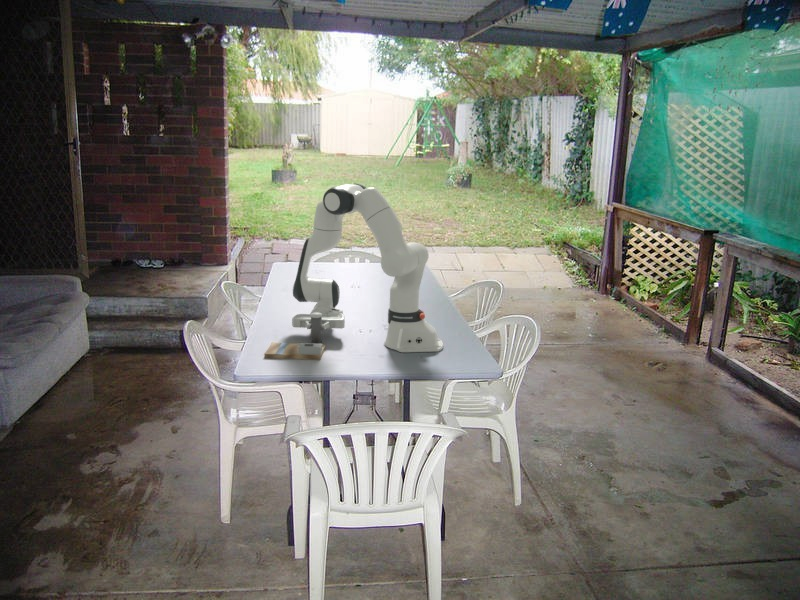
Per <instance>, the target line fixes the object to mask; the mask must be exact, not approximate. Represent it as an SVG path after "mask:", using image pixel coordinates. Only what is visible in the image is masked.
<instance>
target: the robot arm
mask: <svg viewBox="0 0 800 600" xmlns="http://www.w3.org/2000/svg"><path fill="white" fill-rule="evenodd" d="M356 212H358V213H359V214H360V216H361V217H362V219H364V222H365V223H366V225H367V226H368V228H369V231H370V232H371V233H372V235H373V237H374V239H375V241H376V243H377V245H378V249H379V253H380V256H381V259H380V266H381V269H382V271H383V273H384V274H385V275H387V276H388V277H393V278H394V279H393V281H392V284H391V286H390V289H389V308H388V312H387V323H388V326H387V333H386V337H385V341H384V346H385V347H386V348H388V349H391V350H395V351H397V352H400V353H426V352H429V353H430V352H431V353H432V352H440V351H442V350H443V348H444V343H443V341H442V339H440V338H439V337H438V332H437V330H436V328H435V327H434V326H433V325H432V324H430V323H429V322H428V321H427V320H426V319H425V318H426V314H425V313H424V311H423V309H420V308H419V305H420V304H419V303H420V290H421V284H422V280H423V275H424V272H425V271H424V270H425V268H426V264H427V263H428V261H429V258H430V257H429V251H428V249H427V247H426V246H425V245H424V244H422V243H419V242H414V241H409V242H407V243H406V241H405V238H404V235H403V225H402V223H401V221H400V219H399V218H398V216H397V214H396V213H395V210H394V209H393V208H392V206H391V205H390V203H389V201H388V200H387V199H386V197H384V195H383V194H382V192H381V191H380V190H378V189H377V188H376V187H374V186H373V187H372V186H370V187H369V186H368V187H367V186H365V185H364V184H363V185H362V184H360V183H351V184H348V183H347V184H346V183H345V184H341V185H337V186H335V185H334V186H332V187H330V188H328V189H327V190H326V191H325V193H324V194H323V198H322V200H320V201H319V202H318V203H317V205H316V209H315V212H314V213H315V214H314V218H313V219H314V220H313V229H312V233H311V236H310V237H309V238H307V239H305V241H304V243H303V245H302V250H301V255H300V258H299V263H298V267H297V273H296V277H295V281H294V282H293V285H292V296H293V298H294V299H295V300H297V301H298V302H299V303H309V302H310V303H316V304H315V305H314V307H313V308H312V310H311V312H310V313H299V314H295V315H294V316H293V317H292V319H291V326H292V327H293V328H303V329H305V328H306V329H307V330H311V313H322V325H321V327H322V328H321V329H322V330H326V329H339V330H340V329H341V330H342V329H344V328H346V327H345V319H346V318H345V315H344V311H343V309H337V308H336V307H337V306H338V304H339V301H340V286H339V285H338V283H337V282H336V280H334V279H330V278H329V279H328V278H317V277H316V278H315V277H309V276H308V272H309V269H310V263H311V260H312V258H313V257H314V256H315V255H318V254H322V253H324V252H327V251H331V250H332V249H334V248H335V247H337V246H338V245H339V243H340V242H341V239H342V233H343V232H342V231H343V219H344V216H345V215H347V214H348V215H349V214H353V213H356Z"/></svg>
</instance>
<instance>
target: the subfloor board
mask: <svg viewBox="0 0 800 600" xmlns="http://www.w3.org/2000/svg"><path fill="white" fill-rule="evenodd" d="M300 343H301V342H300ZM300 343H299V342H298V343H295V342H294V343H293V342H292V343H291V342H271V344H269V346H268V348H267V349H266V351H265V353H264V358H265V359H285V360H286V359H288V360H289V359H290V360H311V361H312V360H315V361H317V360H319V361H321V359H322V357H323V354H324V352H325V351H326V344H324V343H321V344H322V353H321V355H305V354H298V346H299V345H300Z"/></svg>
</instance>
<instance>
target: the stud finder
mask: <svg viewBox="0 0 800 600" xmlns="http://www.w3.org/2000/svg"><path fill="white" fill-rule="evenodd" d="M322 344H323V343H318V344H316V343H311V342H310V343H308V342H300V345H299V346H298V354H305V355H321V353H322Z"/></svg>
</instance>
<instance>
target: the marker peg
mask: <svg viewBox="0 0 800 600" xmlns="http://www.w3.org/2000/svg"><path fill="white" fill-rule="evenodd" d="M310 313H311V312H310ZM321 325H322V313H311V329H310V335H311V337H310V343H316V344H322V342H323V329H321V328H322V327H321Z"/></svg>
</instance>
